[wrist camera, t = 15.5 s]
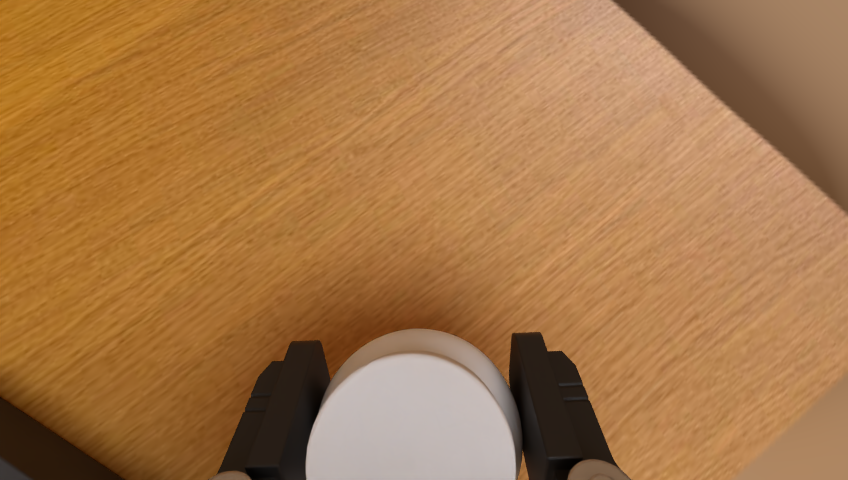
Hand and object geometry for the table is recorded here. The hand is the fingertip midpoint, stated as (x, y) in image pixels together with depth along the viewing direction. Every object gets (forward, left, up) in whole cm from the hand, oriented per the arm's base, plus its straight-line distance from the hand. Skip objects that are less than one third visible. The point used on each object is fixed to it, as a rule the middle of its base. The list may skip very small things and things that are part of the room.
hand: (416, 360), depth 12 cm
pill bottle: (-1, +2, -5) cm, 6 cm away
